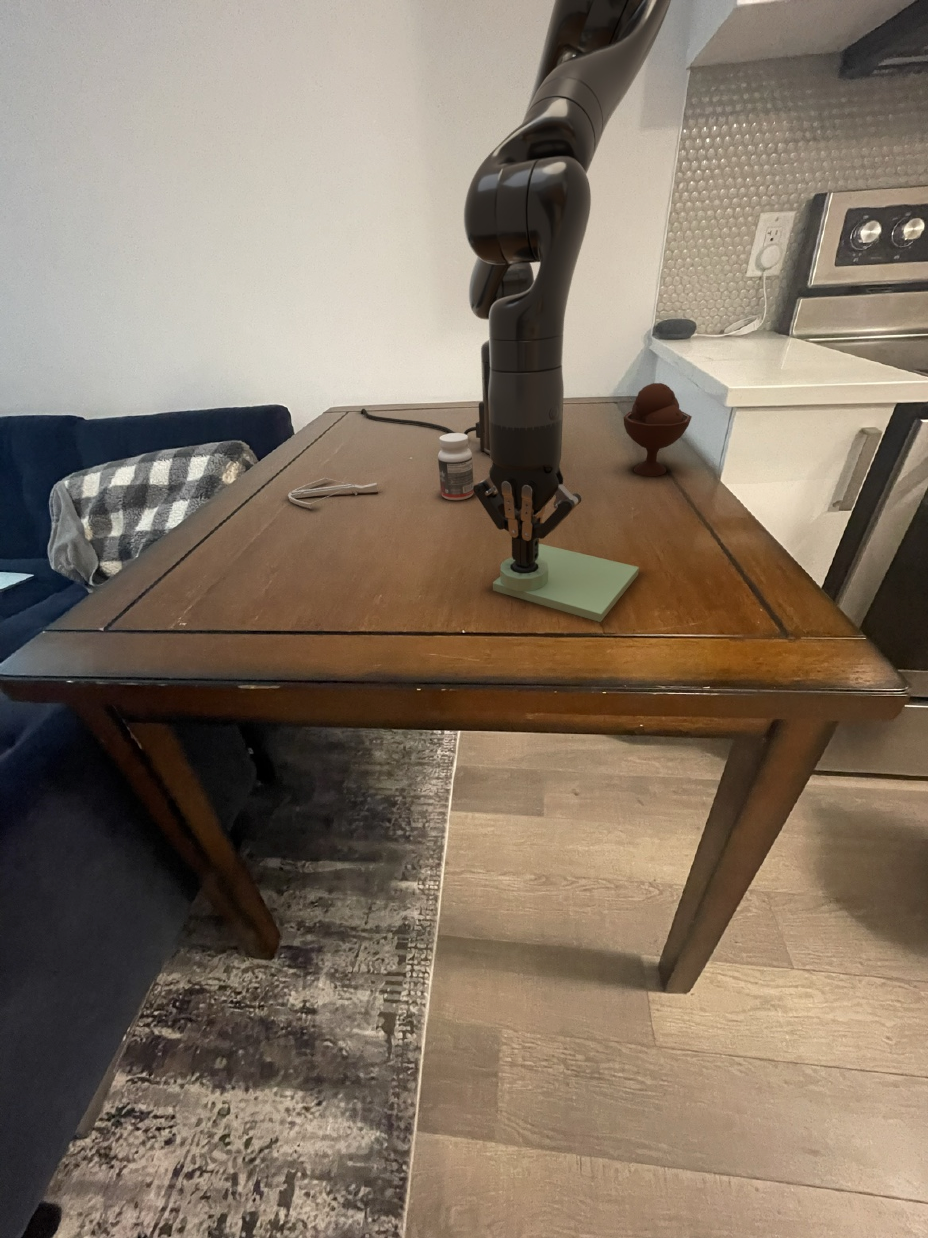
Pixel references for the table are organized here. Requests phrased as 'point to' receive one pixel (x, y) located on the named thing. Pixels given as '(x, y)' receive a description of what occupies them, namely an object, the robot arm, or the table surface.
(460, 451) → the pill bottle
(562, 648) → the table surface
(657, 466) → the ice cream bowl
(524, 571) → the button
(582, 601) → the scale
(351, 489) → the crossbow
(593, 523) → the table surface
